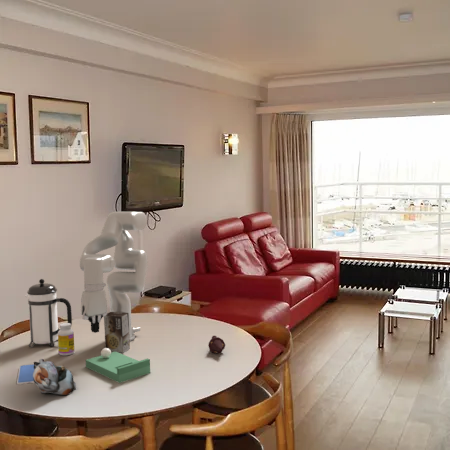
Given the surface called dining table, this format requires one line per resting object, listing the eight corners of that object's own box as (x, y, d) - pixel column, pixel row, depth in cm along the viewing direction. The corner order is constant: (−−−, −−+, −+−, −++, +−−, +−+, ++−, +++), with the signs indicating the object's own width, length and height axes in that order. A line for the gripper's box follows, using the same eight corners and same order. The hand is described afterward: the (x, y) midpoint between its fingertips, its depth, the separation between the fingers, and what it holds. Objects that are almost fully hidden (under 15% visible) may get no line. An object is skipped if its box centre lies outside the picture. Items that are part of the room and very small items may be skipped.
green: (115, 358, 235) (115, 345, 234) (150, 372, 218) (149, 359, 217) (85, 367, 225) (85, 354, 224) (119, 382, 208) (119, 368, 207)
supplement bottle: (70, 356, 238) (68, 326, 237) (55, 355, 240) (54, 326, 238) (77, 351, 245) (76, 322, 243) (63, 350, 246) (62, 321, 245)
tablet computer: (52, 382, 211) (51, 378, 211) (16, 386, 208) (16, 382, 208) (52, 365, 230) (52, 361, 230) (19, 368, 226) (19, 365, 226)
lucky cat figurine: (79, 394, 198) (61, 366, 191) (46, 411, 196) (28, 383, 189) (73, 369, 211) (57, 342, 204) (43, 384, 208) (25, 358, 202)
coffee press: (36, 351, 245) (33, 284, 242) (22, 343, 257) (18, 279, 254) (73, 343, 256) (70, 278, 253) (58, 335, 268) (55, 273, 265)
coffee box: (130, 348, 248) (129, 312, 246) (123, 353, 242) (122, 316, 240) (112, 346, 251) (111, 311, 249) (104, 351, 244) (103, 314, 243)
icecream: (230, 342, 233) (222, 335, 248) (213, 339, 232) (206, 332, 246) (227, 358, 233) (219, 350, 248) (210, 355, 231) (203, 347, 246)
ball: (107, 355, 230) (107, 345, 229) (113, 357, 227) (112, 348, 226) (99, 357, 227) (98, 348, 226) (104, 360, 224) (104, 350, 223)
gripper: (104, 283, 236) (106, 326, 238) (72, 289, 226) (74, 333, 228) (114, 286, 231) (115, 329, 233) (82, 291, 221) (83, 337, 222)
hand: (95, 331), depth 230 cm, fingers closed
